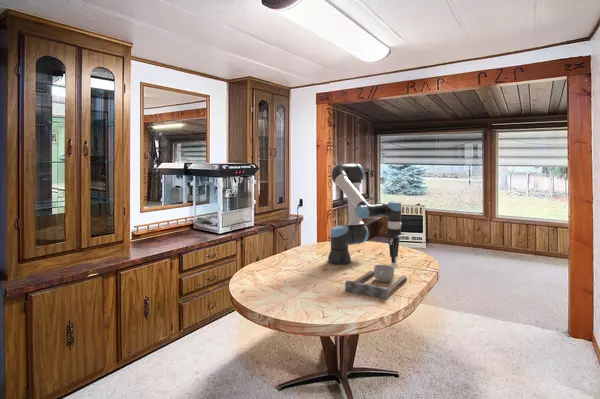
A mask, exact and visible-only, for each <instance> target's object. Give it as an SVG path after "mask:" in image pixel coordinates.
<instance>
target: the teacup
mask: <svg viewBox="0 0 600 399" xmlns="http://www.w3.org/2000/svg"><path fill="white" fill-rule="evenodd" d="M373 268H374V270H373V271H374V276H373V277H374V278H375V279H376V280H377V282H380V283H389V282H391V281H393V279H394V276H395V268H394V267H392V266H391V265H390V264H389V265H388V264H375V265H374V267H373Z"/></svg>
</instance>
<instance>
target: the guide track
mask: <svg viewBox="0 0 600 399" xmlns="http://www.w3.org/2000/svg"><path fill="white" fill-rule="evenodd" d="M373 277H375V276H374V270H369V271H367V272H366V273H365V274H363V275H361V276H360V277H358V278H357V279H355V280H348V279H347V280H346V281H345V282H344V286H345V287H344V291H345V292H348V293H352V294H353V293H354V294H358V295H363V296H366V297H367V296H368V297H373V298H379V299H383V300H388V299H389V298H390V296H392V295H393V294H394V293H395V292H397V290H398V289H400V288H401V287H402V285H404V284H405V283H406V282H407V280H408V276H407V275H406V276H405V275H402V276H400V277H399V278H398V279H397V280H396V281H394V282H393V283H392V284H390V285H389V287H386V286H380V285H375V284H368V283H365V282H367V281H369V279H371V278H373Z"/></svg>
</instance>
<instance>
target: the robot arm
mask: <svg viewBox="0 0 600 399" xmlns="http://www.w3.org/2000/svg"><path fill="white" fill-rule="evenodd" d="M330 174H331V180H332V181H333V183H334V185H335V186H338V187H339V188H340V190H341V191H342V192H343V194H344V195H345V196H346V197H347V208H348V223H347V224H346V225H336V226H333V227H331V229H330V234H329V235H330V251H329V254H328V258H327V262H328V263H329V264H332V265H339V266H340V265H348V264H350V263H352V258H351V255H350V254H351V253H350V251H349V246H351V245H352V246H353V245H359V244H364V243H366V241H368V239H369V235H370V233H369V229H368V227H367V226H366V225H365V222H364V221H363V219H370V218H377V217H378V218H379V217H386V218H387V235H388V236H390V238H389V241H388V245H389V246H388V249H389V258H391V259H390V261H391V262H390V263H391V264H390V266H392V267H394V269H397V266H398V265H397V263H398V260H397V258H398V257H399V248H400V246H399V245H400V238H399V236H401V235H402V229H401V228H402V224H403V223H402V209H403V208H402V202H400V201H388V203H382V202H376V203H375V204H374V203H373V204H370V203H368V202H367V200H366V199H365V197H363V195H362V194H361V190H360V186H361V184H362V181H363V180H364V179H365V175H366V174H365V170H364V168H363V166H362V165H361V164H359V163H340V164H337V165H335V166H334V167H333V168H332V170H331V173H330Z"/></svg>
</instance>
